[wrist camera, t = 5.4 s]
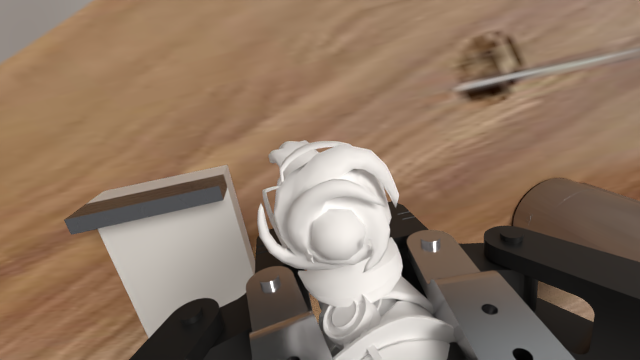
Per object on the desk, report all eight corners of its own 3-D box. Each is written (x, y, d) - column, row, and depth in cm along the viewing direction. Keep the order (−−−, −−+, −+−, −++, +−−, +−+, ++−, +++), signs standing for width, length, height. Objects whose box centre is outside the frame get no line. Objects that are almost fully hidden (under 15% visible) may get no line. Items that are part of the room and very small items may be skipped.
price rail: (223, 174, 27) (218, 185, 24) (227, 187, 27) (223, 200, 24) (85, 204, 25) (64, 220, 23) (92, 217, 26) (71, 234, 23)
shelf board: (227, 164, 29) (223, 174, 27) (275, 330, 36) (276, 352, 33) (103, 191, 28) (85, 204, 25) (176, 357, 35) (169, 382, 32)
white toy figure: (374, 263, 17) (600, 648, 6) (304, 289, 17) (391, 746, 5) (325, 95, 14) (620, 190, 2) (238, 124, 13) (109, 383, 2)
